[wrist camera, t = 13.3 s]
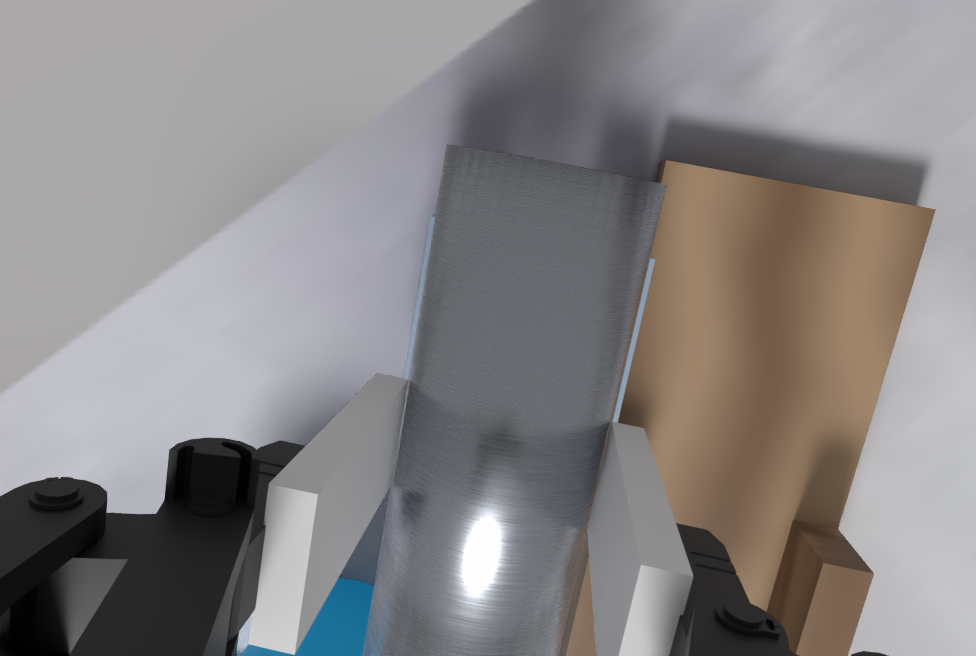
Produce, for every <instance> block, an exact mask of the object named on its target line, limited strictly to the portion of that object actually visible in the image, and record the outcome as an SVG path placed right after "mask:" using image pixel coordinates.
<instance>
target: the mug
mask: <svg viewBox="0 0 976 656" xmlns="http://www.w3.org/2000/svg"><path fill="white" fill-rule="evenodd" d="M373 588H374V586H372V585H370V584H368V583H366V582H363V581H359V580H352V579H344V578H338V580H337V581H336V583H335V585H334V587H333V588H332V590H331V592H330V594H329V595H328V597H327V599H326V601H325V602H324V604H323V606H322V608H321V609H320V611H319V613H318V615H317V616H316V618H315V620H314V622H313V623H312V625H311V627H310V629H309V631H308V632H307V634H306V636H305V638H304V639H303V641H302V643H301V645H300V646H299V648H298V650H297V652H296V653H295V655H293V654H289V653H284V652H280V651H276V650H271V649H267V648H263V647H258V646H254V645H250V644H248V646H247V647H246V649H245V650H244V652H243V653H242V654H241V656H362V654H363V648H364V642H365V636H366V630H367V624H368V618H369V612H370V606H371V600H372V594H373Z"/></svg>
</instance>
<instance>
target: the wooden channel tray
mask: <svg viewBox="0 0 976 656" xmlns="http://www.w3.org/2000/svg"><path fill="white" fill-rule="evenodd" d="M656 183H660V184H664V185H667V188H666V192H665V196H664V201H663V205H662V209H661V214H660V218H659V222H658V227H657V231H656V235H655V240H654V244H653V248H652V253H651V256H652V257H653V258H655V263H654V267H653V272H652V276H651V280H650V285H649V289H648V293H647V298H646V302H645V306H644V311H643V315H642V319H641V324H640V328H639V332H638V337H637V341H636V345H635V350H634V354H633V358H632V363H631V367H630V371H629V376H628V380H627V384H626V389H625V393H624V397H623V402H622V406H621V410H620V415H619V419H618V423H621V424H626V425H631V426H636V427H641V428H644V429H645V432H646V435H647V438H648V441H649V444H650V447H651V450H652V453H653V456H654V459H655V462H656V465H657V468H658V471H659V474H660V477H661V480H662V483H663V486H664V489H665V492H666V495H667V498H668V501H669V504H670V507H671V510H672V513H673V516H674V519H675V522H676V523H678V524H683V525H687V526H692V527H697V528H701V529H706V530H708V531H709V532H711V533H712V534H713V535H714V536H715V537H716V538H717V539H718V540H719V541H720V542H721V543H723V544H724V546H725V548H726V550H727V552H728V554H729V557H730V559H731V563H733V566H734V568H735V570H736V575H738V577H739V579H740V581H741V583H742V586H743V588H744V590H745V592H746V595H747V597H748V599H749V601H750V603H751V604H753V605H755V606H758V607H759V608H761V609H762V610H764V611H766V612H767V613H769V614H770V615H772V616H773V617H774V618H775V619H776V620H777V621H778V622H779V623H780V624H781V625H782V626H783V627H784V629H785V631H786V634H787V636H788V641H789V650H790V651H792V652H793V653H795V654H797V655H799V656H848V653H849V650H850V646H851V643H852V640H853V637H854V634H855V631H856V628H857V625H858V622H859V618H860V615H861V612H862V609H863V606H864V603H865V600H866V597H867V594H868V590H869V587H870V584H871V581H872V578H873V575H874V573H873V572H872V571H871V569H870V568H869V567H868V566H867V564H866V563H865V562H864V561H863V560H862V558H861V557H860V556H859V555H858V553H857V552H856V551H855V550H854V548H853V547H852V546H851V545H850V543H849V542H848V541H847V540H846V539H845V537H844V536H843V535H842V534H841V532H840V531H839V530H838V527H839V523H840V520H841V517H842V514H843V510H844V507H845V504H846V500H847V497H848V494H849V491H850V487H851V484H852V481H853V478H854V474H855V471H856V468H857V465H858V461H859V458H860V455H861V451H862V448H863V445H864V442H865V438H866V435H867V432H868V429H869V425H870V422H871V419H872V416H873V412H874V409H875V406H876V403H877V399H878V396H879V393H880V389H881V386H882V383H883V380H884V376H885V373H886V370H887V367H888V363H889V360H890V357H891V354H892V350H893V347H894V344H895V341H896V337H897V334H898V331H899V327H900V324H901V321H902V318H903V314H904V311H905V308H906V305H907V301H908V298H909V295H910V292H911V288H912V285H913V282H914V278H915V275H916V272H917V269H918V265H919V262H920V259H921V256H922V252H923V249H924V246H925V243H926V239H927V236H928V233H929V230H930V226H931V223H932V220H933V216H934V213H935V209H930V208H925V207H919V206H914V205H908V204H903V203H897V202H892V201H886V200H881V199H876V198H870V197H865V196H859V195H854V194H848V193H843V192H837V191H832V190H827V189H821V188H816V187H810V186H805V185H799V184H794V183H788V182H783V181H778V180H772V179H767V178H761V177H756V176H750V175H745V174H739V173H734V172H729V171H723V170H718V169H712V168H707V167H701V166H696V165H690V164H685V163H680V162H674V161H669V160H665V161H661V163H660V168H659V172H658V177H657V181H656ZM559 656H596V647H595V633H594V619H593V605H592V590H591V576H590V562H589V548H588V533H587V535H586V539H585V544H584V548H583V552H582V557H581V561H580V565H579V570H578V574H577V578H576V583H575V587H574V591H573V596H572V600H571V604H570V609H569V613H568V617H567V622H566V626H565V630H564V635H563V639H562V643H561V648H560V652H559Z"/></svg>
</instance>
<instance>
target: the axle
mask: <svg viewBox="0 0 976 656" xmlns="http://www.w3.org/2000/svg"><path fill="white" fill-rule="evenodd" d="M666 188H667V185H664V184H660V183H656V182H652V181H647V180H642V179H638V178H633V177H628V176H623V175H618V174H613V173H608V172H603V171H598V170H592V169H587V168H582V167H577V166H572V165H566V164H561V163H556V162H550V161H545V160H539V159H534V158H528V157H523V156H517V155H511V154H506V153H500V152H494V151H488V150H482V149H476V148H470V147H463V146H457V145H447V148H446V154H445V160H444V166H443V172H442V178H441V184H440V190H439V196H438V202H437V208H436V214H435V220H434V226H433V232H432V238H431V244H430V250H429V256H428V262H427V268H426V274H425V280H424V286H423V292H422V299H421V305H420V311H419V317H418V323H417V329H416V335H415V341H414V347H413V353H412V359H411V365H410V371H409V377H408V385H407V391H406V397H405V403H404V409H403V415H402V421H401V427H400V433H399V439H398V445H397V451H396V457H395V463H394V469H393V475H392V481H391V486H390V491H389V497H388V504H387V510H386V516H385V522H384V528H383V534H382V540H381V546H380V552H379V558H378V564H377V570H376V576H375V582H374V588H373V594H372V600H371V606H370V612H369V618H368V624H367V630H366V636H365V642H364V648H363V654H362V656H559V652H560V648H561V643H562V639H563V635H564V630H565V626H566V622H567V617H568V613H569V609H570V604H571V600H572V596H573V591H574V587H575V583H576V578H577V574H578V570H579V565H580V561H581V557H582V552H583V548H584V544H585V539H586V535H587V527H588V522H589V518H590V514H591V509H592V505H593V501H594V496H595V492H596V487H597V483H598V479H599V474H600V470H601V466H602V461H603V457H604V453H605V448H606V444H607V440H608V435H609V431H610V426H611V422H613V418H614V413H615V409H616V405H617V400H618V396H619V392H620V387H621V383H622V379H623V374H624V370H625V366H626V361H627V357H628V353H629V348H630V344H631V340H632V335H633V331H634V327H635V322H636V318H637V314H638V309H639V305H640V301H641V296H642V292H643V288H644V283H645V279H646V274H647V270H648V266H649V261H650V257H651V253H652V248H653V244H654V240H655V235H656V231H657V227H658V222H659V218H660V214H661V209H662V205H663V201H664V196H665V192H666Z"/></svg>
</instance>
